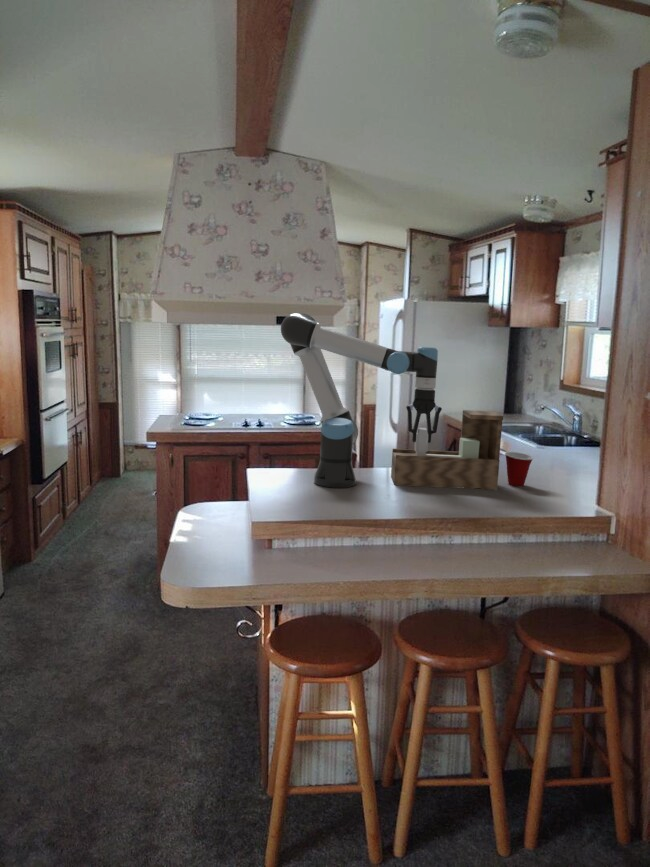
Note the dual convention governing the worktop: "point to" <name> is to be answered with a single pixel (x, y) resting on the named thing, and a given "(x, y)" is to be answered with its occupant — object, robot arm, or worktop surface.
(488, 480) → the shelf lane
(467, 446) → the tethered block
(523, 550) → the worktop surface
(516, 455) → the plastic cup
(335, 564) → the worktop surface
